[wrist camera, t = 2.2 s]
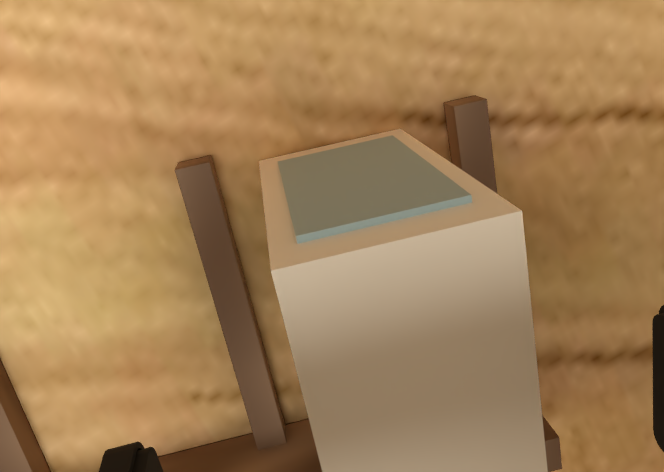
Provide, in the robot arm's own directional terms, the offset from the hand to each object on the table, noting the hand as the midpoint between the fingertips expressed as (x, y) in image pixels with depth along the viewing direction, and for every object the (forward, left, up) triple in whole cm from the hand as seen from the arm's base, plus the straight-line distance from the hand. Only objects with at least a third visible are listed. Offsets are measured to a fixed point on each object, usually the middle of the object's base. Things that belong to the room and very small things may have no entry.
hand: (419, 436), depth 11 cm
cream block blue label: (0, 0, -10) cm, 10 cm away
